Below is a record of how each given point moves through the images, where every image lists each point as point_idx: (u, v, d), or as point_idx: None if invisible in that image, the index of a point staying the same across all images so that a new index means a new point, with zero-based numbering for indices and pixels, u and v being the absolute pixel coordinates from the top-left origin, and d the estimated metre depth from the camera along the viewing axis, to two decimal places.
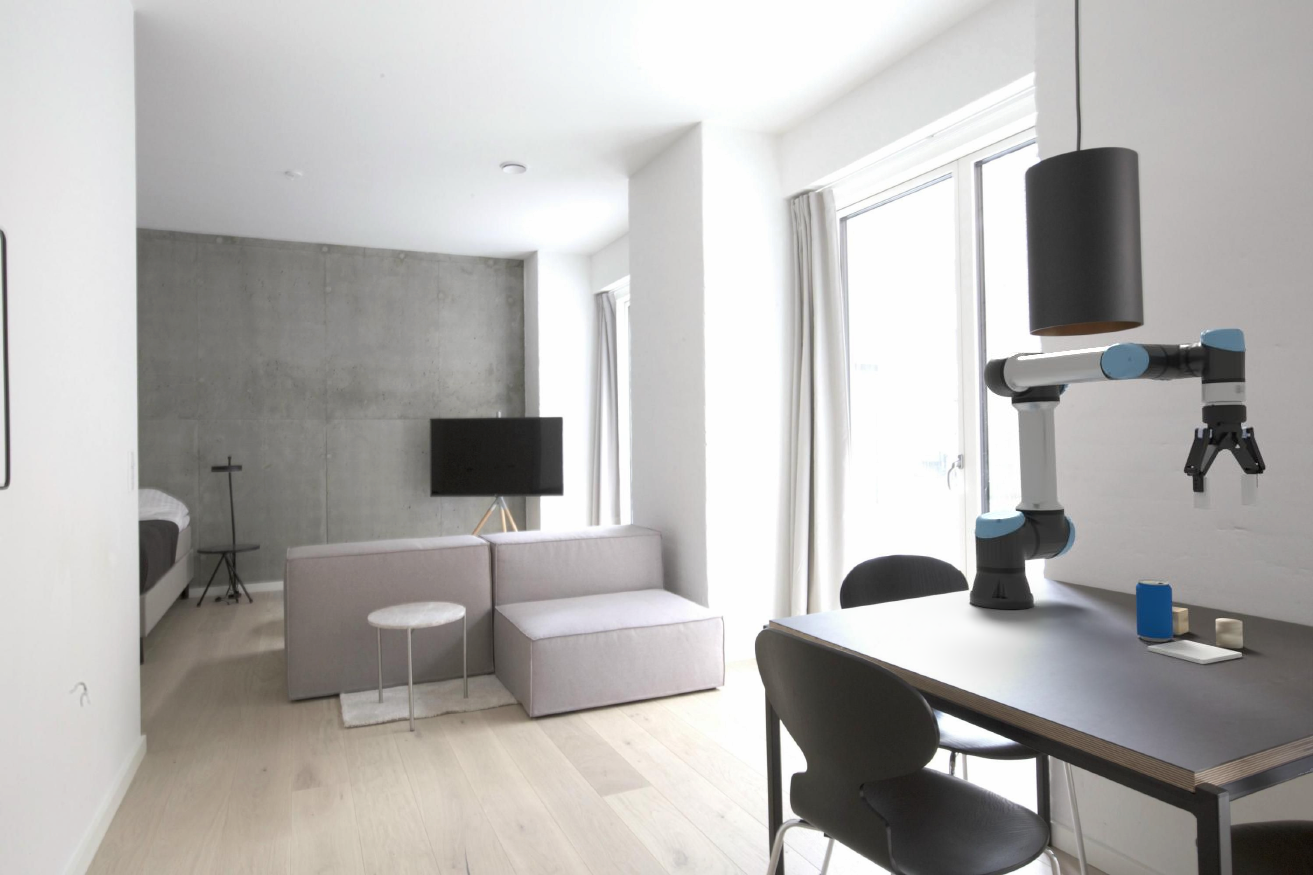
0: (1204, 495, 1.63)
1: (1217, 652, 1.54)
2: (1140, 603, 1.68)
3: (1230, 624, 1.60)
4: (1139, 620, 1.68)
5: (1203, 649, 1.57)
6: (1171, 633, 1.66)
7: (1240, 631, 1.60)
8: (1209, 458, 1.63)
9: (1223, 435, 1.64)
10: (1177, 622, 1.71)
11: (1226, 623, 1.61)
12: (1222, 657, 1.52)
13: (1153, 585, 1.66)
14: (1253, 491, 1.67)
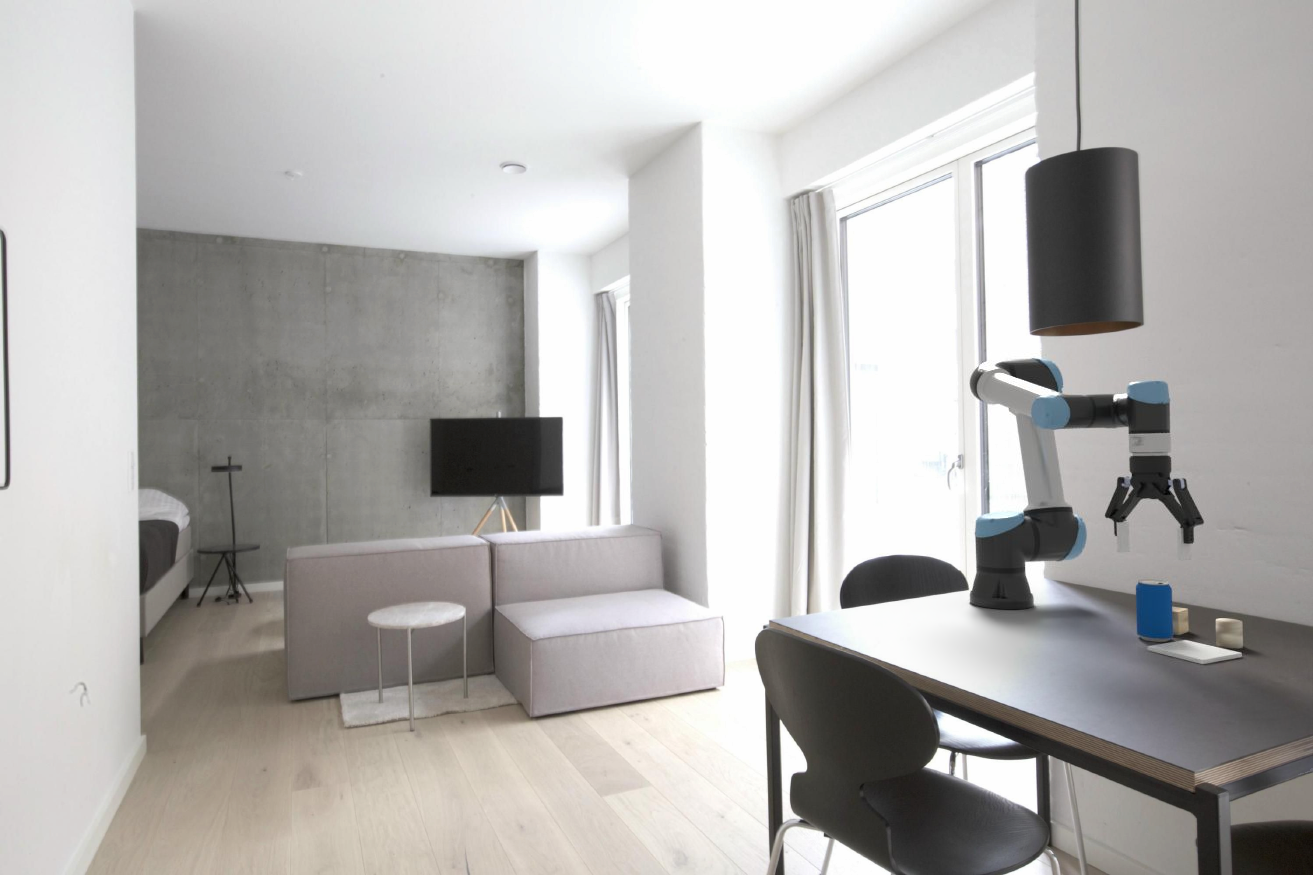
0: None
1: (1217, 652, 1.54)
2: (1140, 603, 1.68)
3: (1230, 624, 1.60)
4: (1139, 620, 1.68)
5: (1203, 649, 1.57)
6: (1171, 633, 1.66)
7: (1240, 631, 1.60)
8: (1122, 505, 1.74)
9: None
10: (1177, 622, 1.71)
11: (1226, 623, 1.61)
12: (1222, 657, 1.52)
13: (1153, 585, 1.66)
14: None
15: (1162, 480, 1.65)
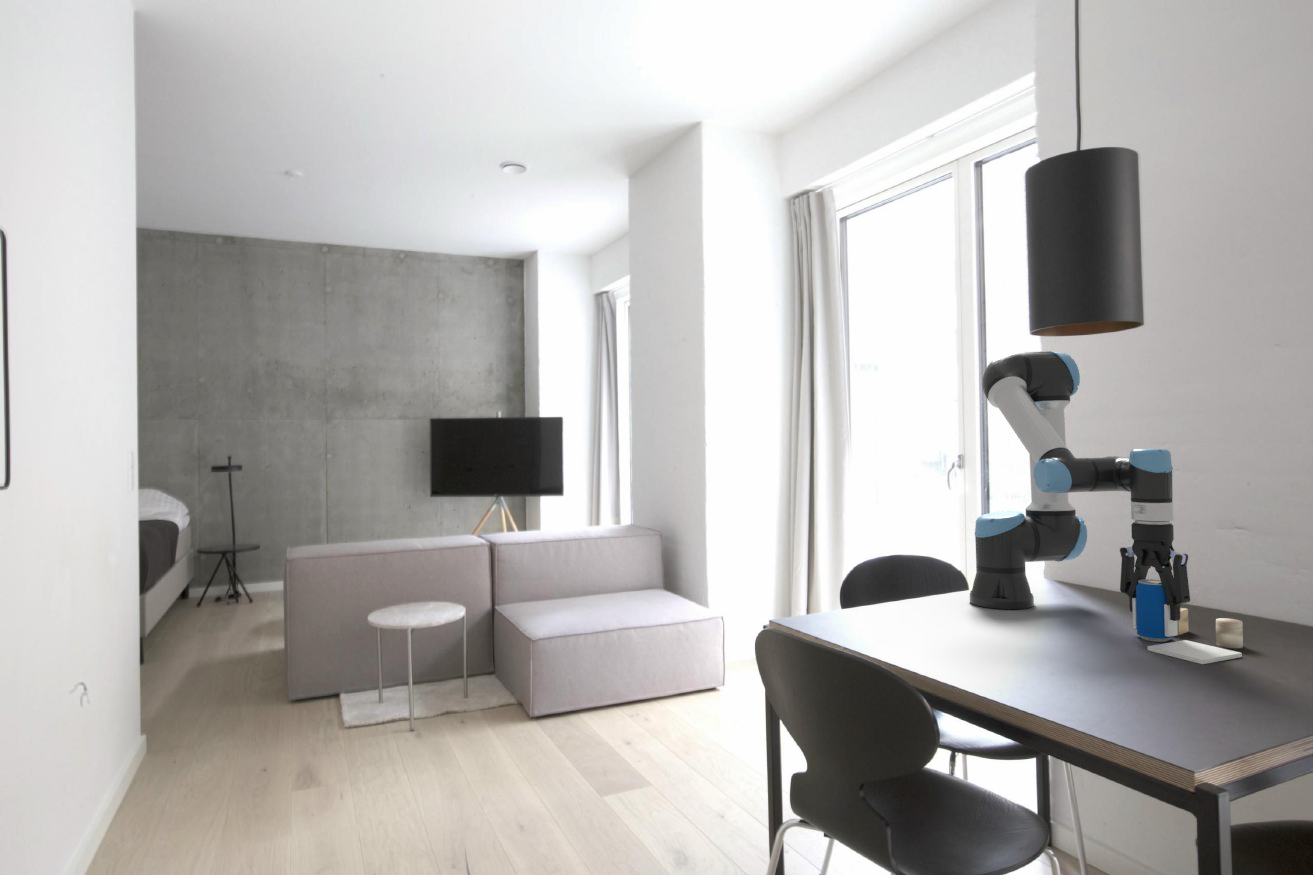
0: None
1: (1217, 652, 1.54)
2: (1140, 603, 1.68)
3: (1230, 624, 1.60)
4: (1139, 620, 1.68)
5: (1203, 649, 1.57)
6: None
7: (1240, 631, 1.60)
8: (1132, 578, 1.72)
9: None
10: (1177, 622, 1.71)
11: (1226, 623, 1.61)
12: (1222, 657, 1.52)
13: (1153, 585, 1.66)
14: None
15: (1165, 550, 1.65)
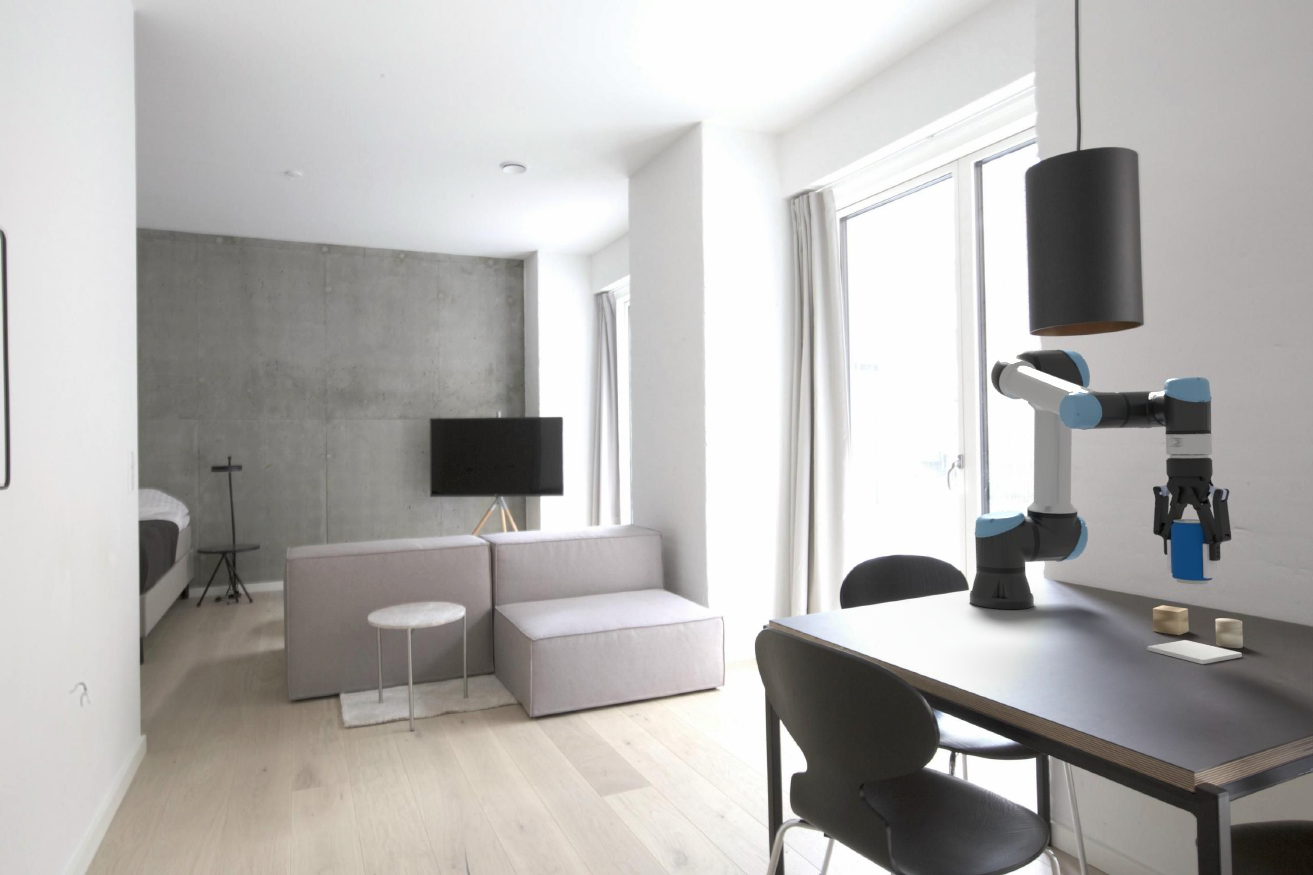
0: None
1: (1217, 652, 1.54)
2: (1176, 543, 1.56)
3: (1229, 624, 1.60)
4: (1175, 562, 1.57)
5: (1203, 649, 1.57)
6: None
7: (1240, 631, 1.60)
8: (1167, 518, 1.60)
9: None
10: (1177, 622, 1.71)
11: (1225, 623, 1.61)
12: (1222, 657, 1.52)
13: (1190, 523, 1.54)
14: None
15: (1204, 485, 1.53)
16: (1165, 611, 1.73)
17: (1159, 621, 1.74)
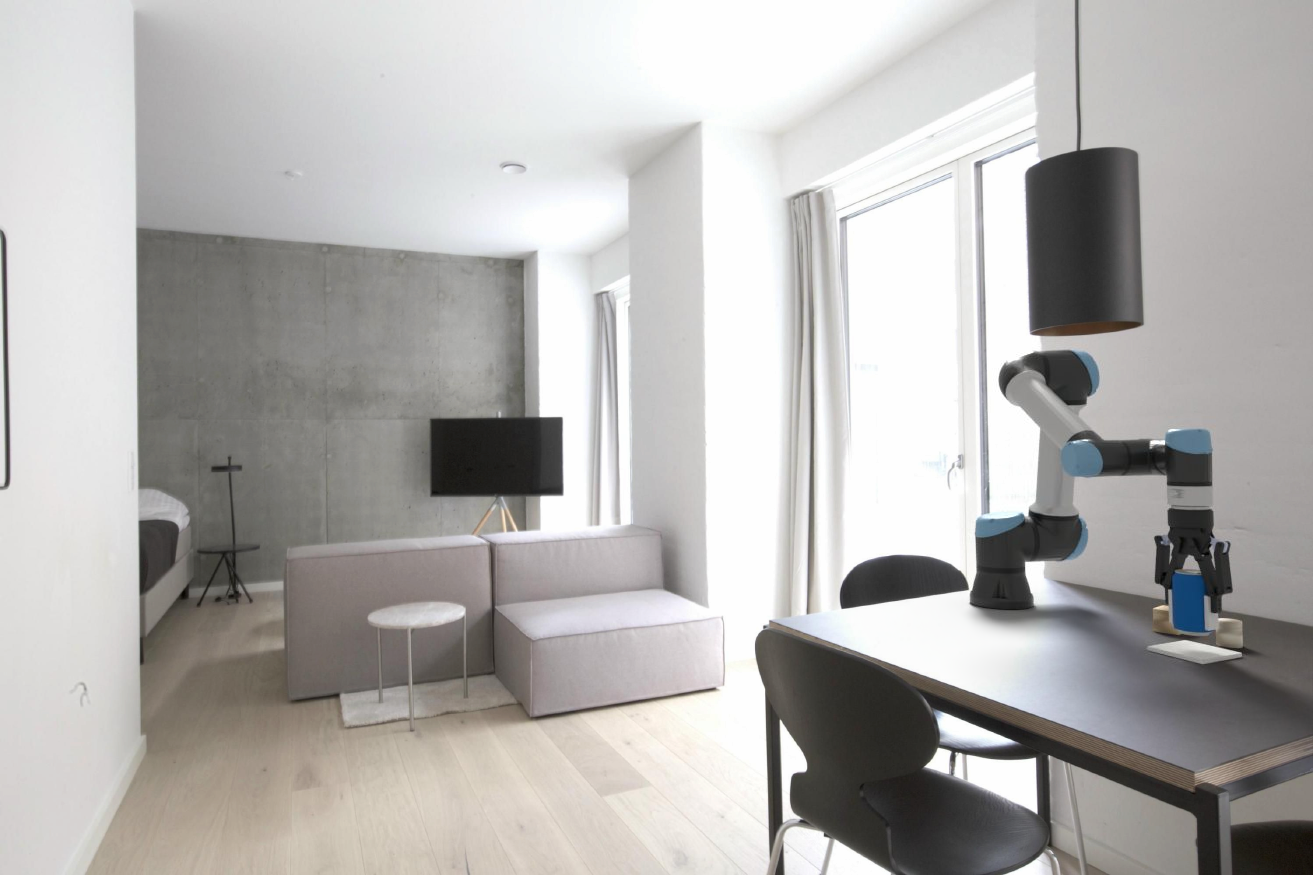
0: None
1: (1217, 652, 1.54)
2: (1177, 594, 1.56)
3: (1229, 624, 1.60)
4: (1176, 613, 1.57)
5: (1203, 649, 1.57)
6: None
7: (1239, 631, 1.60)
8: (1168, 568, 1.60)
9: None
10: None
11: (1225, 623, 1.61)
12: (1222, 657, 1.52)
13: (1192, 575, 1.54)
14: None
15: (1205, 537, 1.53)
16: (1165, 611, 1.73)
17: (1159, 621, 1.74)
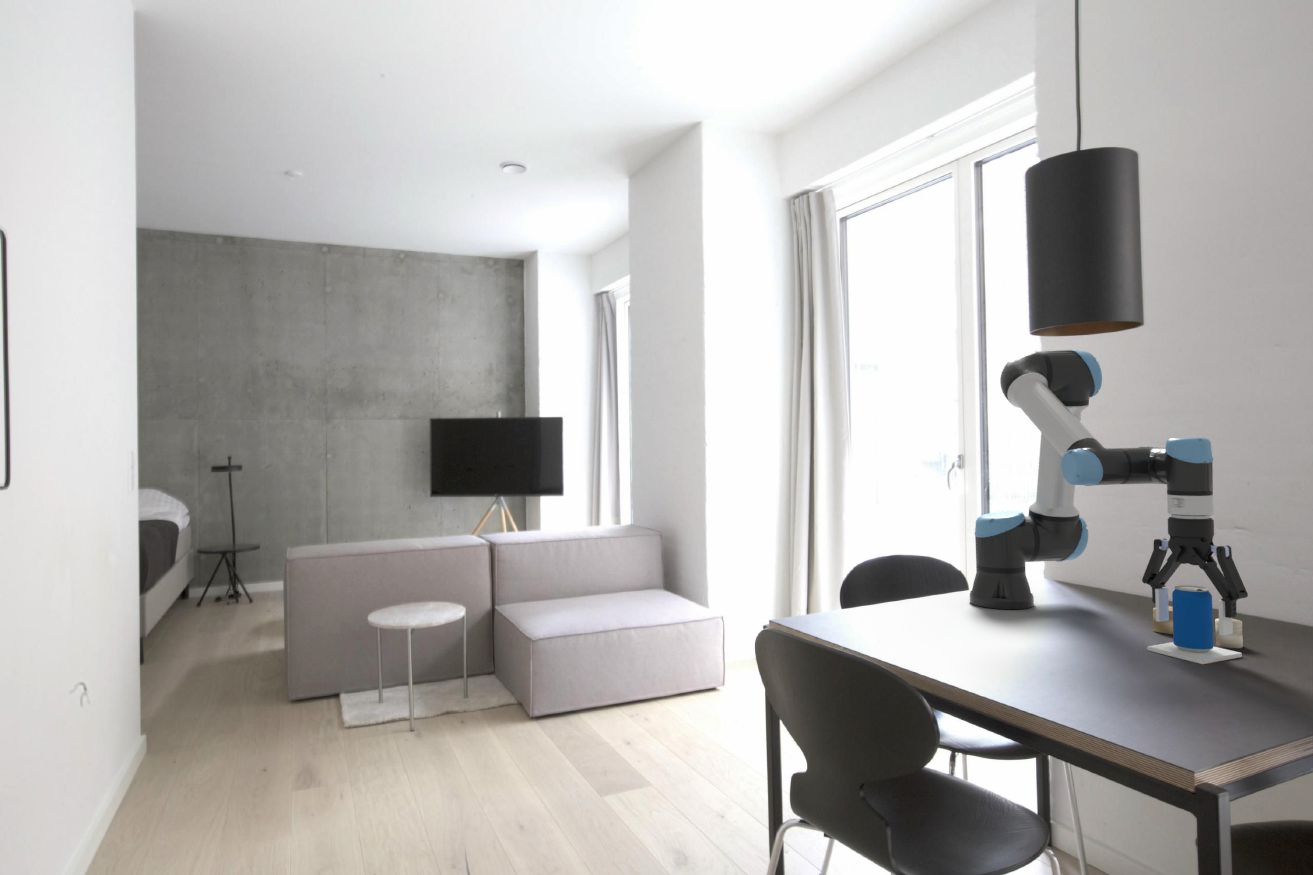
0: None
1: (1217, 652, 1.54)
2: (1177, 611, 1.56)
3: None
4: (1176, 629, 1.57)
5: None
6: (1211, 643, 1.54)
7: (1239, 631, 1.60)
8: (1160, 570, 1.62)
9: None
10: None
11: None
12: (1222, 657, 1.52)
13: (1192, 592, 1.55)
14: None
15: (1204, 546, 1.53)
16: None
17: None
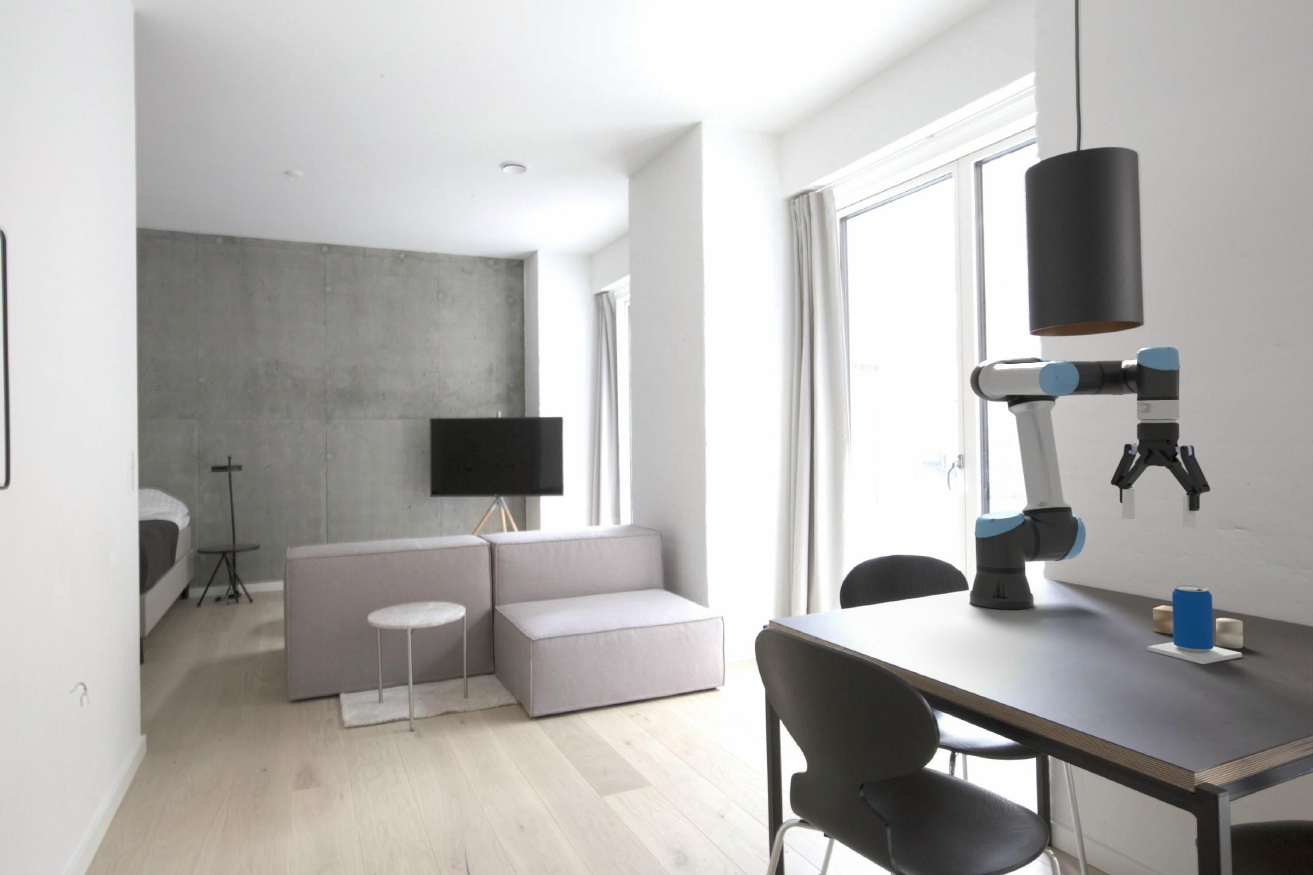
0: None
1: (1217, 652, 1.54)
2: (1177, 611, 1.56)
3: (1229, 624, 1.60)
4: (1176, 629, 1.57)
5: None
6: (1211, 643, 1.54)
7: (1239, 631, 1.60)
8: (1128, 472, 1.73)
9: None
10: None
11: (1225, 623, 1.61)
12: (1222, 657, 1.52)
13: (1192, 592, 1.55)
14: None
15: (1169, 447, 1.64)
16: (1165, 611, 1.73)
17: (1159, 621, 1.74)
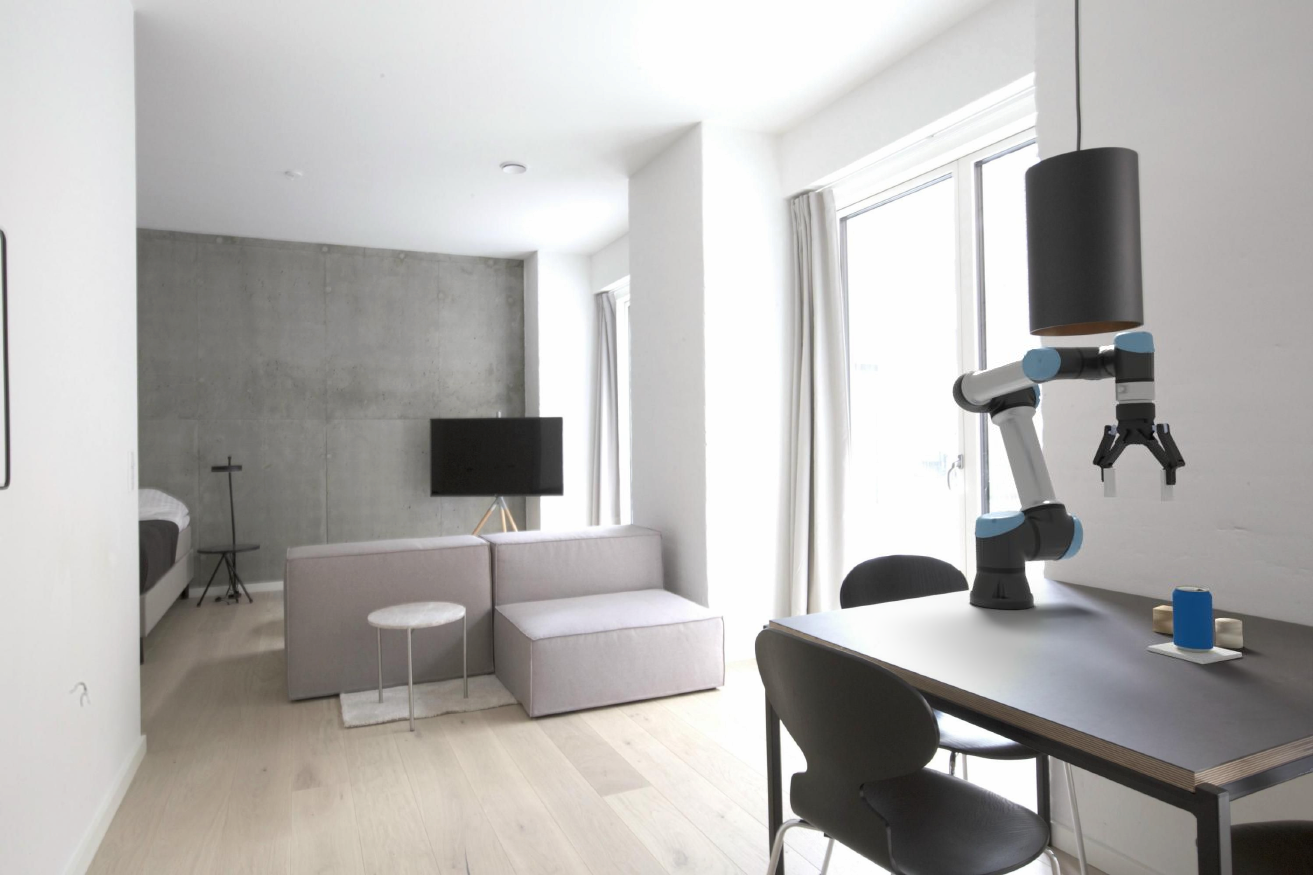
0: None
1: (1217, 652, 1.54)
2: (1177, 611, 1.56)
3: (1228, 624, 1.60)
4: (1176, 630, 1.57)
5: None
6: (1211, 643, 1.54)
7: (1239, 631, 1.60)
8: (1109, 452, 1.82)
9: None
10: None
11: (1224, 623, 1.61)
12: (1222, 657, 1.52)
13: (1192, 592, 1.54)
14: None
15: (1146, 426, 1.73)
16: (1165, 611, 1.73)
17: (1159, 621, 1.74)
